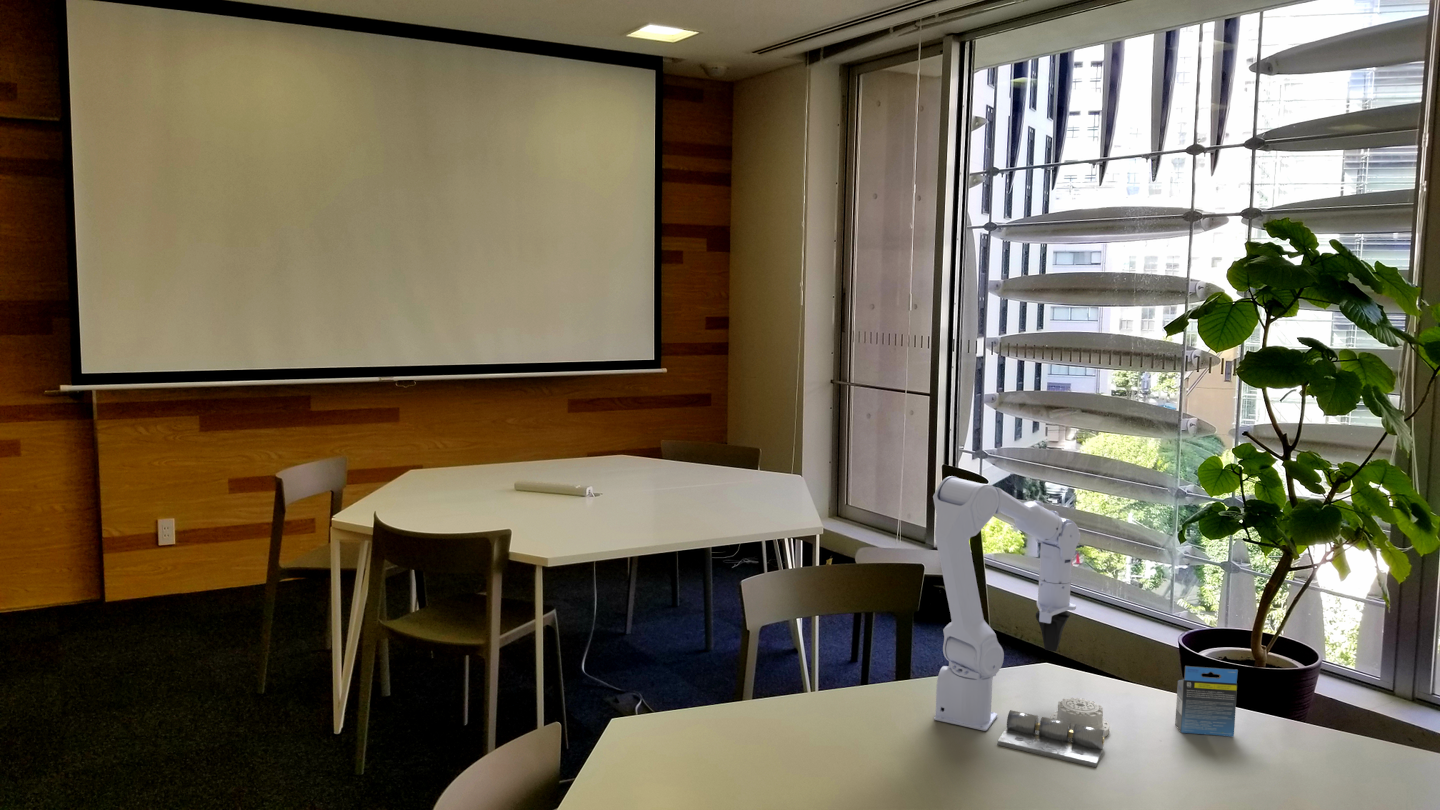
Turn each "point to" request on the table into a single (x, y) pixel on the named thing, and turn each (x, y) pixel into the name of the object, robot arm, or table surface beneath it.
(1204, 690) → the blue ink cartridge box
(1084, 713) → the mechanical component
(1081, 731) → the hinge leaf
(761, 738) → the table surface
